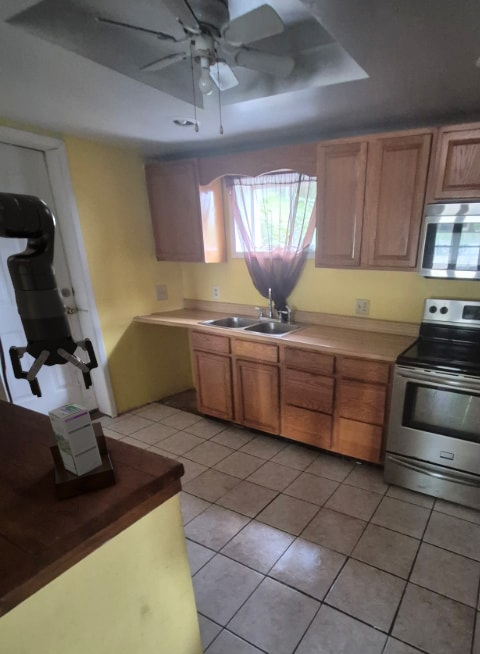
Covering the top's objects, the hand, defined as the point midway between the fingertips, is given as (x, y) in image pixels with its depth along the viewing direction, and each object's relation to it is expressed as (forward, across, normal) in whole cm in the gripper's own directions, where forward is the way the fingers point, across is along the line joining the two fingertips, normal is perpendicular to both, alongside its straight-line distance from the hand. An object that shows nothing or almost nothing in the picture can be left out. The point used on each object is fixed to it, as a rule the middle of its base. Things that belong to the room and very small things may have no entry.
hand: (64, 392), depth 76 cm
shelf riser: (+22, 0, -4) cm, 23 cm away
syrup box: (+19, 0, 0) cm, 19 cm away
